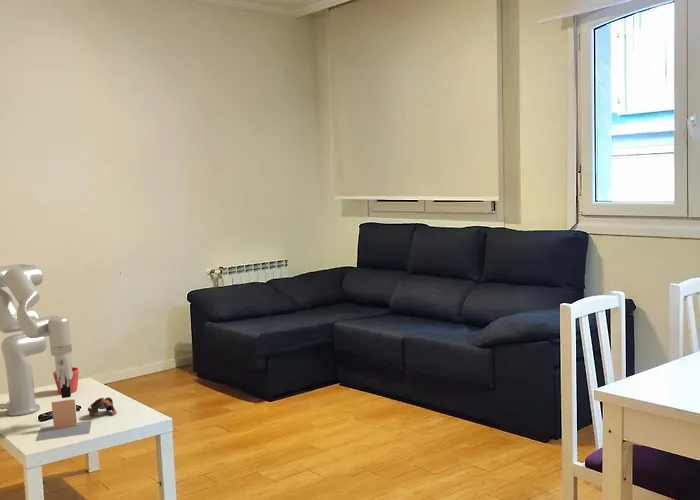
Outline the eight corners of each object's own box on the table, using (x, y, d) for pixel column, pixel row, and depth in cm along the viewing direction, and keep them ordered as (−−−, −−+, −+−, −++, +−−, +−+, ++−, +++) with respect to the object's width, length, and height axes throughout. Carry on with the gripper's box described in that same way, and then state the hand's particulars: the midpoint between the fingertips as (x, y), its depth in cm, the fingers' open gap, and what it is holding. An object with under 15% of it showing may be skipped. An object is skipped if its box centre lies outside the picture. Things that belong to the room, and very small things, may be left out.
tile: (54, 428, 274) (51, 402, 273) (54, 426, 276) (52, 400, 276) (76, 425, 276) (74, 399, 275) (77, 423, 279) (75, 397, 278)
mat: (35, 442, 262) (35, 440, 262) (41, 429, 277) (40, 427, 277) (89, 435, 266) (89, 433, 266) (91, 422, 282) (91, 420, 282)
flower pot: (49, 395, 325) (47, 373, 324) (63, 388, 335) (61, 367, 334) (72, 395, 323) (70, 373, 322) (85, 388, 334) (83, 366, 333)
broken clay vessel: (113, 420, 284) (100, 404, 282) (94, 431, 286) (81, 415, 284) (124, 403, 295) (111, 388, 293) (105, 413, 297) (92, 398, 295)
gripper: (70, 352, 275) (75, 400, 277) (73, 345, 290) (78, 391, 291) (48, 354, 273) (53, 403, 275) (52, 347, 288) (58, 394, 289)
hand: (66, 397), depth 283 cm, fingers closed
